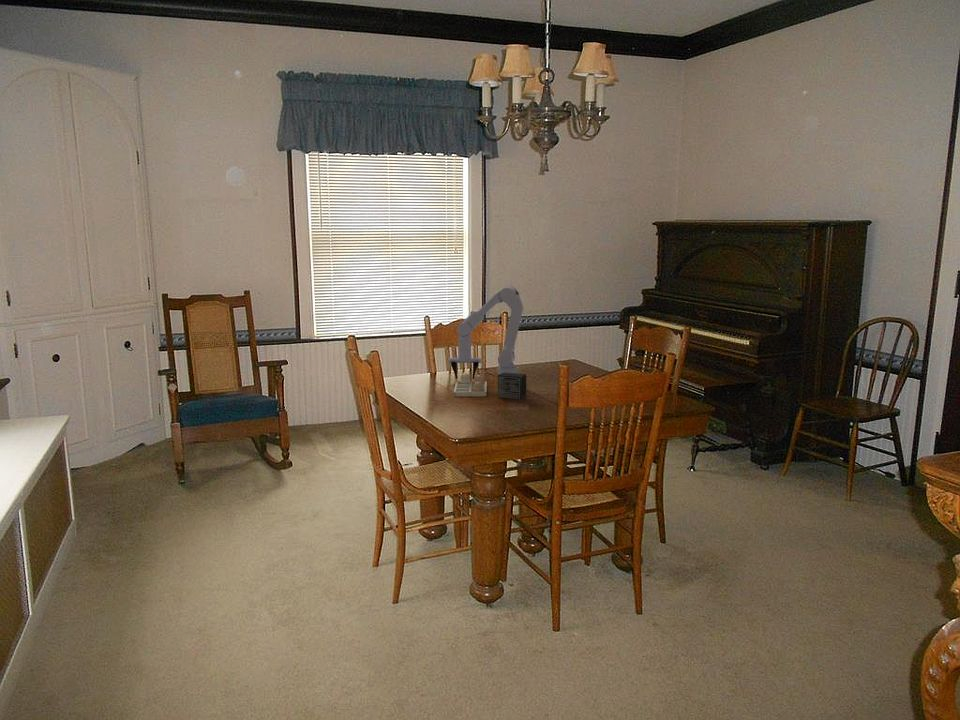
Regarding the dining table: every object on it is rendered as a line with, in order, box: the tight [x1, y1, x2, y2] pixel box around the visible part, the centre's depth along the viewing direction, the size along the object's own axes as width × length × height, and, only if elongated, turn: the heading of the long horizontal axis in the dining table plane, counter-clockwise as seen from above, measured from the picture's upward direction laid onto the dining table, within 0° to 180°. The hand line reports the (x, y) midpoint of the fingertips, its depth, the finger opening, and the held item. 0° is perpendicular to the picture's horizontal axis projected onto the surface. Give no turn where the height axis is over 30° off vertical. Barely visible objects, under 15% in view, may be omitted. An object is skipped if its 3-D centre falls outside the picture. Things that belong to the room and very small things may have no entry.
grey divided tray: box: [453, 380, 488, 397], centre depth 306 cm, size 14×20×3 cm
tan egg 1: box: [473, 374, 484, 385], centre depth 312 cm, size 4×4×5 cm
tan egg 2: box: [473, 382, 483, 392], centre depth 300 cm, size 4×4×5 cm
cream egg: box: [459, 372, 471, 381], centre depth 322 cm, size 4×4×5 cm
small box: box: [497, 372, 527, 400], centre depth 295 cm, size 11×6×10 cm, turn 65°
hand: (464, 378), depth 322 cm, fingers open, 7 cm apart
